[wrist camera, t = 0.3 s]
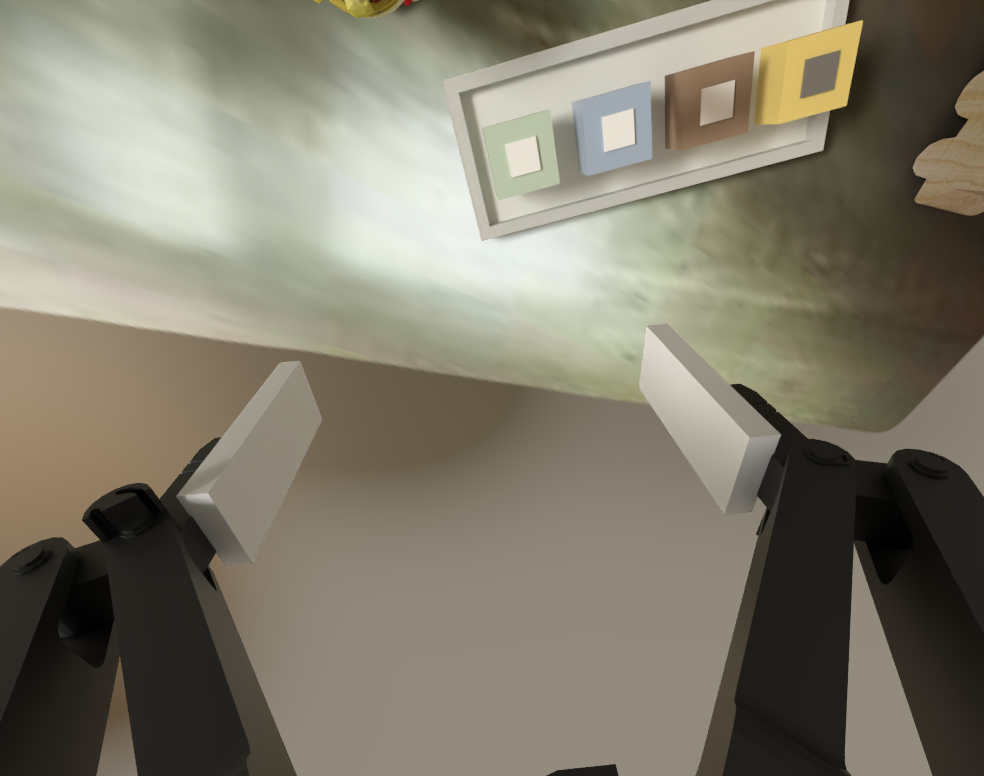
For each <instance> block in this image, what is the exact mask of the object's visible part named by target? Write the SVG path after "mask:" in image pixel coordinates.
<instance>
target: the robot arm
mask: <svg viewBox="0 0 984 776" xmlns="http://www.w3.org/2000/svg"><path fill="white" fill-rule="evenodd" d="M639 388H640V390H641V391H642V393H643V394H644V396H645V397H646V399H647V400H648V402H649V403H650V405H651V406H652V408H653V409H654V411H655V412H656V414H657V415H658V417H659V418H660V420H661V421H662V422H663V424H664V425H665V427H666V428H667V430H668V431H669V433H670V434H671V436H672V437H673V439H674V440H675V442H676V443H677V445H678V446H679V448H680V449H681V451H682V452H683V454H684V455H685V457H686V458H687V460H688V461H689V463H690V464H691V466H692V467H693V468H694V470H695V471H696V473H697V475H698V476H699V478H700V479H701V480H702V482H703V483H704V485H705V486H706V488H707V489H708V491H709V492H710V494H711V495H712V497H713V498H714V500H715V501H716V503H717V504H718V506H719V507H720V509H721V510H722V512H723V513H724V514H735V513H745V512H752V510H753V507H754V505H755V502H756V499H757V497H759V498H760V499H761V501H762V502H763V503H764V504H765V506H766V507H767V508H766V511H765V513H764V516H763V518H762V521H761V523H760V526H759V528H758V531H757V533H756V534H757V535H758V539H757V543H756V547H755V551H754V555H753V559H752V563H751V567H750V570H749V575H748V578H747V582H746V586H745V590H744V594H743V598H742V602H741V606H740V609H739V613H738V617H737V621H736V625H735V629H734V633H733V637H732V641H731V645H730V648H729V652H728V656H727V660H726V664H725V668H724V672H723V676H722V680H721V684H720V687H719V691H718V696H717V699H716V703H715V707H714V711H713V715H712V719H711V723H710V726H709V730H708V734H707V738H706V742H705V746H704V750H703V754H702V757H701V761H700V764H699V767H698V770H697V773H696V776H851V775H850V773H849V772H848V771H847V770H846V766H845V732H846V709H847V686H848V662H849V640H850V639H849V638H850V617H851V594H852V570H853V547H854V544H855V547H856V550H857V553H858V556H859V559H860V562H861V565H862V568H863V571H864V574H865V577H866V580H867V583H868V586H869V589H870V592H871V595H872V597H873V600H874V604H875V606H876V609H877V612H878V615H879V618H880V621H881V624H882V627H883V630H884V633H885V636H886V639H887V642H888V645H889V648H890V651H891V654H892V657H893V660H894V663H895V666H896V668H897V672H898V675H899V678H900V680H901V683H902V686H903V689H904V692H905V695H906V698H907V701H908V704H909V707H910V710H911V713H912V716H913V719H914V722H915V725H916V728H917V731H918V734H919V737H920V740H921V742H922V746H923V749H924V752H925V754H926V758H927V760H928V763H929V766H930V769H931V772H932V775H933V776H984V497H983V495H982V494H981V492H980V491H979V490H978V488H977V487H976V485H975V484H974V483H973V481H972V480H971V478H970V477H969V475H968V474H967V473H966V472H965V471H964V470H963V469H962V468H961V467H960V466H958V465H957V464H955V463H953V462H952V461H950V460H948V459H946V458H945V457H942V456H939V455H937V454H934V453H931V452H926V451H922V450H916V449H903V450H898V451H896V452H895V453H894V454H893V455H892V457H891V459H890V460H889V462H888V463H887V464H886V463H878V462H869V461H860V460H855V459H854V458H853V457H852V456H851V455H850V454H849V453H848V452H847V451H845V450H844V449H842V448H840V447H839V446H837V445H834V444H831V443H829V442H826V441H821V440H815V439H808V438H807V437H805V436H804V435H803V434H802V433H801V432H800V431H798V429H797V428H795V427H794V426H793V425H792V424H791V423H790V422H789V421H788V420H787V419H786V418H784V417H783V416H782V415H781V414H780V413H779V412H776V409H775V408H773V407H772V406H771V405H770V404H767V401H766V400H765V399H764V398H762V397H761V396H760V395H759V394H758V393H757V392H755V391H754V390H752V389H750V388H748V387H746V386H744V385H742V384H732V385H729V384H728V383H727V382H726V381H725V380H724V379H723V378H722V377H721V376H720V375H719V374H718V373H717V372H716V371H715V370H714V369H713V368H712V367H711V366H710V365H709V364H708V363H707V362H706V361H705V360H704V359H703V358H702V357H700V356H699V355H698V354H697V353H696V352H695V351H694V350H693V349H692V348H691V347H690V346H689V345H688V344H687V343H686V342H685V341H684V340H683V339H682V338H681V337H680V336H679V335H678V334H677V333H676V332H675V331H674V330H673V329H672V328H671V327H670V326H669V325H667V324H662V325H652V326H647V328H646V336H645V344H644V351H643V359H642V367H641V374H640V382H639ZM321 421H322V417H321V415H320V412H319V410H318V407H317V404H316V402H315V399H314V396H313V394H312V391H311V388H310V386H309V383H308V381H307V378H306V375H305V373H304V370H303V368H302V365H301V362H300V361H293V362H284V363H279V364H278V366H277V367H276V368H275V370H274V371H273V372H272V373H271V375H270V376H269V377H268V379H267V380H266V381H265V382H264V384H263V385H262V386H261V388H260V389H259V390H258V391H257V393H256V394H255V395H254V397H253V398H252V399H251V400H250V402H249V403H248V405H247V406H246V407H245V408H244V410H243V411H242V412H241V414H240V415H239V416H238V417H237V418H236V420H235V421H234V422H233V424H232V425H231V426H230V428H229V429H228V430H227V431H226V433H225V434H224V435H223V437H221V438H215V439H213V440H212V441H211V442H209V443H208V444H207V445H205V446H204V447H203V448H201V449H200V450H199V451H198V453H197V454H196V455H195V456H194V457H193V459H192V460H191V462H190V464H188V465H187V466H186V467H185V468H184V470H183V471H182V474H180V475H179V476H178V477H177V478H176V479H175V481H174V482H173V483H172V485H171V486H170V487H169V488H168V489H167V491H166V492H165V493H164V494H163V496H162V497H161V498H160V499H159V498H158V497H157V496H156V494H155V493H154V492H153V490H152V489H151V488H150V487H149V486H148V485H147V484H143V483H135V484H130V485H126V486H123V487H120V488H117V489H115V490H113V491H111V492H109V493H107V494H106V495H104V496H102V497H101V498H99V499H98V500H97V501H95V502H94V503H93V504H92V505H91V506H90V507H89V508H88V509H87V510H86V512H85V513H84V516H83V519H82V521H83V522H84V523H85V524H86V525H87V526H88V527H89V528H90V529H91V531H92V532H93V533H95V535H96V536H97V537H98V538H99V539H100V541H97V542H94V543H91V544H87V545H84V546H81V547H78V548H74V547H73V546H72V545H71V544H70V543H69V542H68V541H67V540H65V539H64V538H54V537H53V538H50V539H46V540H42V541H39V542H37V543H35V544H33V545H30V546H28V547H26V548H24V549H22V550H21V551H19V552H18V553H16V554H14V555H13V556H12V557H11V558H10V559H8V560H7V561H6V562H5V563H4V564H2V566H0V776H96V774H97V769H98V764H99V759H100V753H101V749H102V743H103V739H104V734H105V728H106V723H107V718H108V713H109V708H110V703H111V698H112V692H113V687H114V683H115V678H116V672H117V667H118V662H119V657H120V658H121V664H122V672H123V678H124V685H125V691H126V698H127V705H128V712H129V718H130V726H131V732H132V739H133V746H134V753H135V759H136V766H137V773H138V776H297V775H296V773H295V770H294V768H293V765H292V763H291V761H290V758H289V756H288V753H287V751H286V748H285V746H284V743H283V741H282V738H281V736H280V733H279V731H278V729H277V726H276V724H275V721H274V719H273V716H272V714H271V711H270V709H269V707H268V704H267V702H266V699H265V697H264V694H263V692H262V689H261V687H260V685H259V682H258V680H257V678H256V675H255V672H254V670H253V667H252V665H251V663H250V660H249V658H248V655H247V653H246V650H245V648H244V645H243V643H242V641H241V638H240V636H239V633H238V631H237V628H236V626H235V624H234V621H233V619H232V616H231V614H230V611H229V609H228V606H227V604H226V602H225V599H224V597H223V594H222V592H221V589H220V587H219V584H218V582H217V580H216V577H215V575H214V572H213V571H212V570H211V568H210V567H209V566H208V565H209V564H210V562H211V560H212V558H213V557H214V555H215V553H216V554H217V555H218V557H219V558H220V559H221V561H222V562H223V563H224V565H225V566H232V565H240V564H251V563H253V562H254V560H255V558H256V556H257V554H258V552H259V550H260V548H261V546H262V544H263V541H264V539H265V537H266V535H267V533H268V531H269V529H270V527H271V525H272V523H273V521H274V519H275V516H276V514H277V512H278V510H279V508H280V506H281V504H282V502H283V500H284V498H285V496H286V493H287V491H288V490H289V487H290V485H291V483H292V481H293V479H294V477H295V475H296V473H297V471H298V469H299V467H300V465H301V462H302V460H303V458H304V456H305V454H306V452H307V450H308V448H309V446H310V444H311V442H312V440H313V437H314V435H315V433H316V431H317V429H318V427H319V425H320V423H321ZM547 776H618V773H617V768H616V765H615V764H613V765H604V766H594V767H585V768H575V769H566V770H558V771H555V772H553V773H551V774H549V775H547Z"/></svg>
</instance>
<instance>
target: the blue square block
mask: <svg viewBox="0 0 984 776" xmlns="http://www.w3.org/2000/svg"><path fill="white" fill-rule="evenodd" d="M572 110H573V119H574V129H575V138H576V147H577V156H578V165H579V172H581V173H583V174H585V175H588V176H590V175H594V174H598V173H601V172H605V171H609V170H612V169H616V168H620V167H623V166H627V165H631V164H634V163H638V162H642V161H645V160H649V159H652V124H651V81H648V82H643V83H639V84H634V85H631V86H627V87H624V88H620V89H617V90H613V91H610V92H606V93H603V94H599V95H596V96H593V97H589V98H586V99H582V100H579V101H575V102H572Z"/></svg>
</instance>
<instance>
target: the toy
mask: <svg viewBox="0 0 984 776" xmlns="http://www.w3.org/2000/svg"><path fill="white" fill-rule="evenodd" d="M314 1H316V2H317V3H320V2H321V1H322V0H314ZM329 1H330V2H331V3H333V4H334V5H335V6H337V7H338V8H340V9H341V10H343V11H346V12H348V13H350V14H351V15H353V16H354V17H358V18H359V17H362V18H373V19H375V18H380V17H384V16H386V15H389V14H390V13H392V12H393V11H395V10H396V9H397V8H398V7H399V6H400V5H401V4H402V3H403V4H404V5H407V6H409V5H410V3H411V2H412V1H417V0H329Z"/></svg>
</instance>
